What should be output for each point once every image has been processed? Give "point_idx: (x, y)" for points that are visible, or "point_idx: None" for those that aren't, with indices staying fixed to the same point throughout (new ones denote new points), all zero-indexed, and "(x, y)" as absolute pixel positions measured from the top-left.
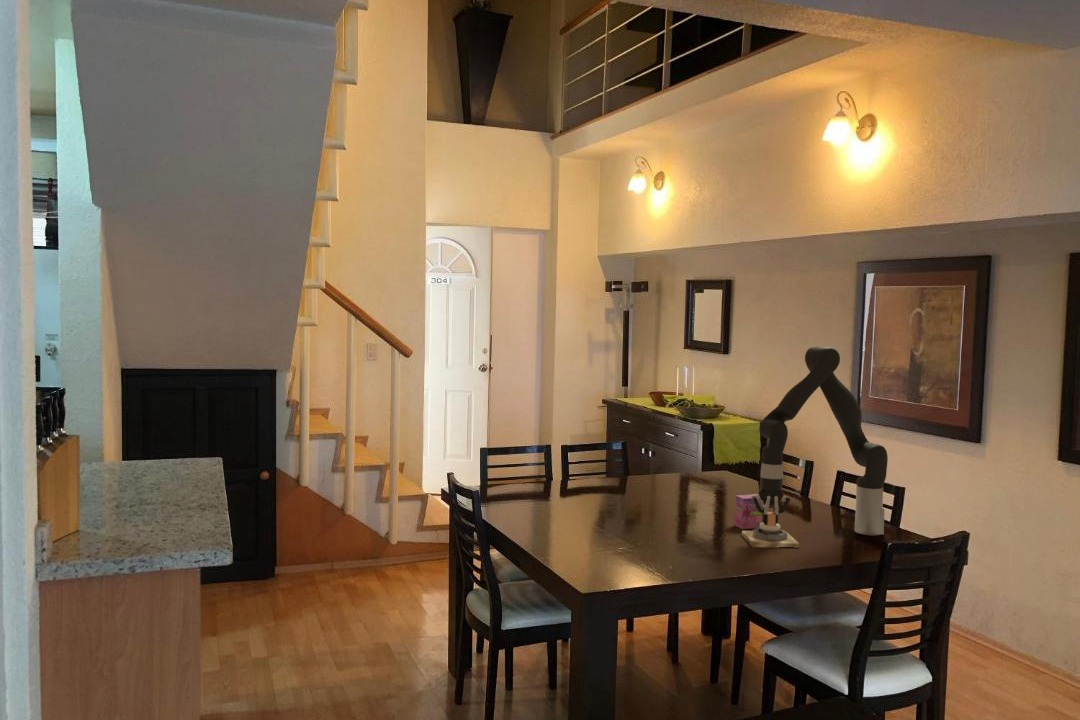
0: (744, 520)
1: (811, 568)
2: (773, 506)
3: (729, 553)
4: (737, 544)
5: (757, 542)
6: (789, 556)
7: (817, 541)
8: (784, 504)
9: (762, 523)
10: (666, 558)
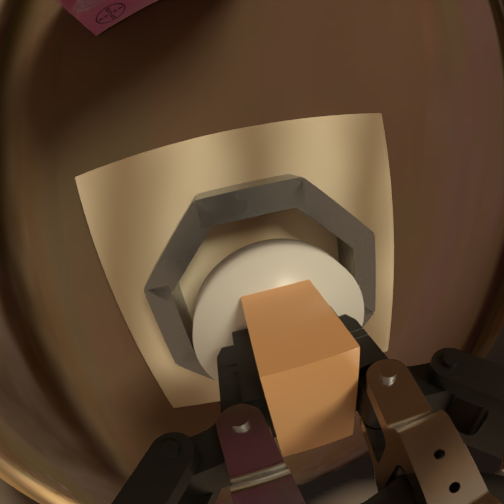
0: (92, 4)
1: (338, 468)
2: (387, 458)
3: (119, 449)
4: (105, 370)
5: (195, 400)
6: None
7: (467, 208)
8: (485, 446)
9: (217, 324)
10: (30, 461)
